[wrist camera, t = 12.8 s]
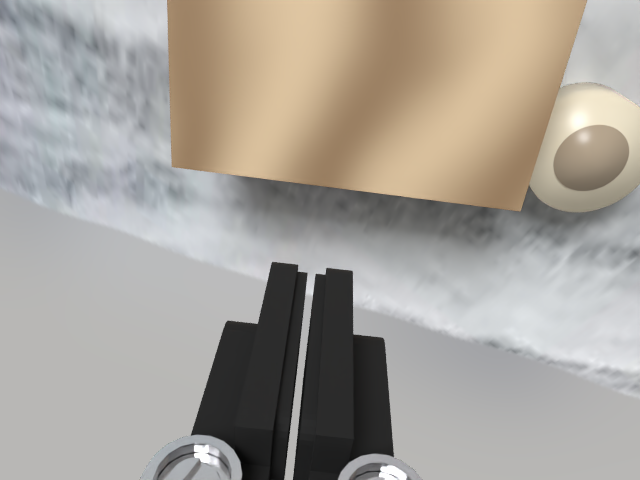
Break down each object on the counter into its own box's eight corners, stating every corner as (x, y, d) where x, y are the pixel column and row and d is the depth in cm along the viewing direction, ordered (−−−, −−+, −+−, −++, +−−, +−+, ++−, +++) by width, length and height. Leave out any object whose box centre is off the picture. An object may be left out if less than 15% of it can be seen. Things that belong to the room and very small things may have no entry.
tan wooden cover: (175, 162, 21) (171, 166, 21) (170, -56, 18) (165, -57, 17) (517, 206, 21) (520, 211, 21) (583, -6, 17) (589, -6, 17)
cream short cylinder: (498, 181, 27) (510, 204, 25) (535, 74, 24) (552, 89, 22) (604, 196, 27) (625, 221, 25) (654, 91, 24) (682, 108, 22)
